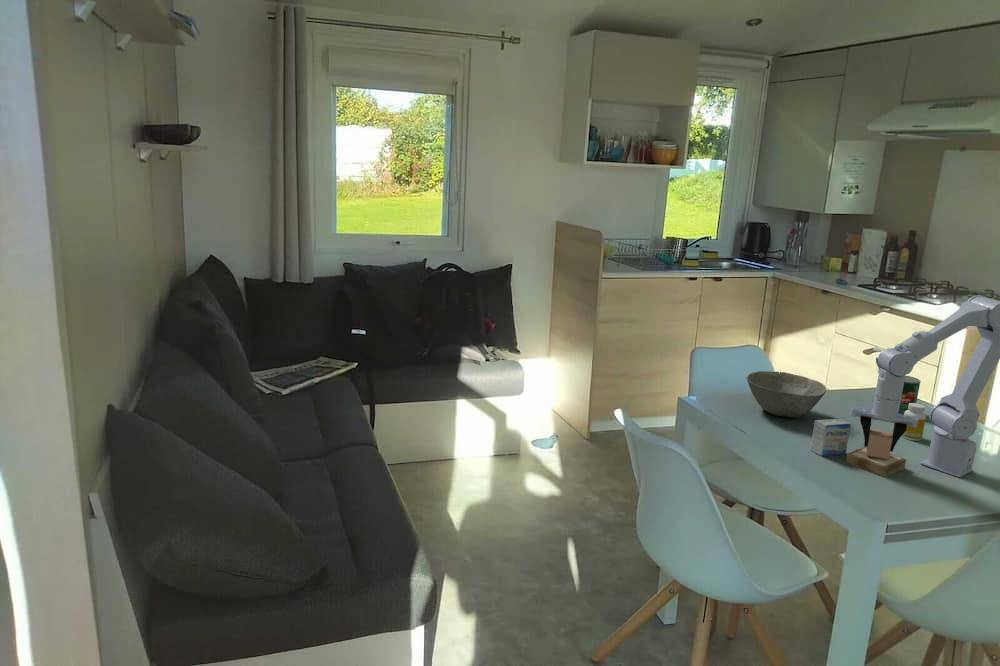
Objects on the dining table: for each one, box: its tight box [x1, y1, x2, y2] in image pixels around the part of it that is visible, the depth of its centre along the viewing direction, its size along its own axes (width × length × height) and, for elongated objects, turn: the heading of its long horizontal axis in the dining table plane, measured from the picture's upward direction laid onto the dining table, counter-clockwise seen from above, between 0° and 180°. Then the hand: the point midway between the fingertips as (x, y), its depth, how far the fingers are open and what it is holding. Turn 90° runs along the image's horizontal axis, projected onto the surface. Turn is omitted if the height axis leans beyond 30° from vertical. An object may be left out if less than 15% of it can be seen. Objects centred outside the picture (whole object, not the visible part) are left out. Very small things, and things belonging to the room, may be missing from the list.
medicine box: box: [809, 418, 852, 457], centre depth 187 cm, size 8×4×9 cm, turn 105°
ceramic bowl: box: [745, 370, 827, 419], centre depth 214 cm, size 22×23×10 cm
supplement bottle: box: [900, 402, 927, 442], centre depth 200 cm, size 5×5×10 cm
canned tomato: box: [898, 375, 921, 415], centre depth 220 cm, size 8×8×11 cm
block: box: [866, 428, 893, 459], centre depth 179 cm, size 5×5×6 cm
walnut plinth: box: [845, 446, 907, 478], centre depth 180 cm, size 10×10×2 cm
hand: (878, 447), depth 179 cm, fingers closed on block, 5 cm apart
